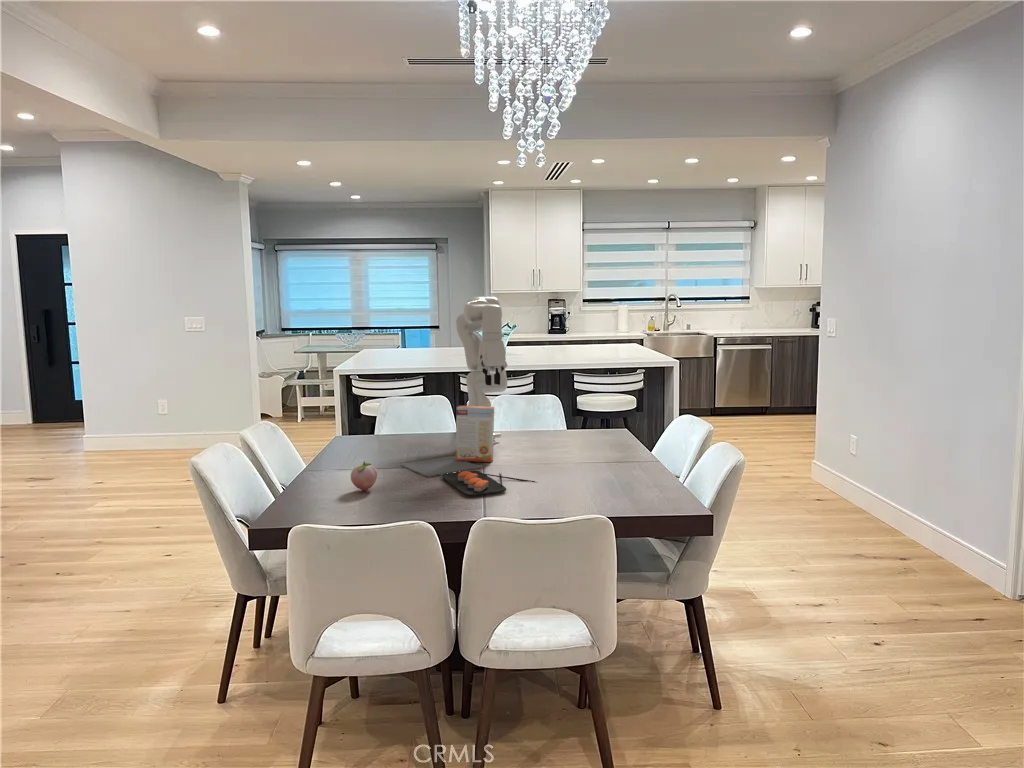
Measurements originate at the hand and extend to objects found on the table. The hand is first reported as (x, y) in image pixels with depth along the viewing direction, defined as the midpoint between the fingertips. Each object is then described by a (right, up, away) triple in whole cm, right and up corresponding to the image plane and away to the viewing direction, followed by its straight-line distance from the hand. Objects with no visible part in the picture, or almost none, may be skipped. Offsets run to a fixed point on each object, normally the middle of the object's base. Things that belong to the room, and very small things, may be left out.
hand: (492, 384), depth 272 cm
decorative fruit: (-41, -35, -41) cm, 68 cm away
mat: (-19, -31, -10) cm, 38 cm away
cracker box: (-7, -30, -1) cm, 30 cm away
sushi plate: (+1, -34, -33) cm, 48 cm away
